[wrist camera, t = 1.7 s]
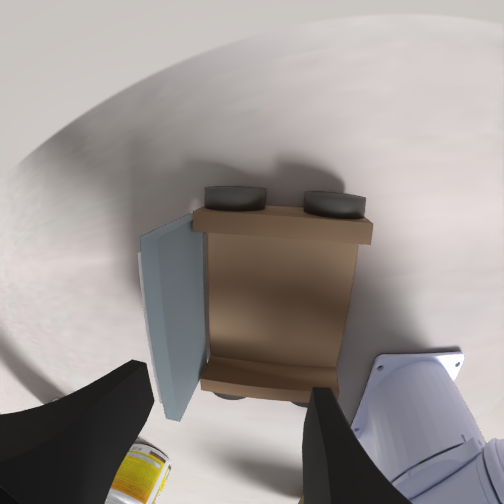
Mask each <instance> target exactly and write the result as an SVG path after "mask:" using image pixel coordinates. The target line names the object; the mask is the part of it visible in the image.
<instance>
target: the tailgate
mask: <svg viewBox="0 0 504 504" xmlns="http://www.w3.org/2000/svg"><path fill="white" fill-rule="evenodd" d="M140 247H141V251H140V252H139V253H138V265H139V276H140V286H141V295H142V303H143V311H144V318H145V325H146V332H147V338H148V345H149V350H150V356H151V362H152V367H153V372H154V377H155V382H156V387H157V392H158V396H159V401H160V403H163V407H164V411H165V415H166V418H167V419H170V420H175V421H179V422H180V420H181V418H182V416H183V414H184V412H185V410H186V408H187V405H188V403H189V401H190V399H191V397H192V395H193V393H194V390H195V388H196V386H197V384H198V382H199V380H200V377H201V375H202V373H203V371H204V369H205V367H206V365H207V356H206V336H205V313H204V279H203V233H202V232H193V214H188V215H186V216H183V217H181V218H179V219H177V220H175V221H172V222H170V223H168V224H166V225H164V226H161V227H159V228H157V229H155V230H153V231H151V232H149V233H147V234H145V235H142V236H140Z"/></svg>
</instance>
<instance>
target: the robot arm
mask: <svg viewBox="0 0 504 504" xmlns="http://www.w3.org/2000/svg"><path fill="white" fill-rule="evenodd" d="M464 358H465V355H464V353H463V352H461V351H460V352H446V353H427V354H383V355H379V356H378V357H377V358H376V359H375V361H374V365H373V368H372V371H371V374H370V377H369V380H368V383H367V386H366V389H365V392H364V394H363V397H362V400H361V403H360V405H359V408H358V411H357V413H356V416H355V418H354V421H353V423H352V426H351V427H350V425H349V424H348V422H347V420H346V418H345V416H344V414H343V412H342V410H341V408H340V406H339V404H338V402H337V399H336V397H335V395H334V392H333V390H332V389H331V388H328V387H312V392H311V396H310V401H309V405H308V409H307V413H306V418H305V422H304V429H303V443H302V459H303V488H304V504H504V439H496V438H495V439H492V440H490V441H489V442H488V443H486V441H485V439H484V437H483V435H482V433H481V431H480V429H479V427H478V425H477V423H476V421H475V419H474V417H473V415H472V413H471V412H470V410H469V408H468V406H467V404H466V402H465V401H464V399H463V397H462V395H461V393H460V392H459V390H458V388H457V386H456V385H455V383H454V380H455V378H456V376H457V374H458V372H459V369H460V367H461V365H462V363H463V360H464ZM457 362H458V363H457ZM381 365H382V367H380V368H378V367H379V366H381ZM153 404H154V397H153V392H152V388H151V383H150V379H149V374H148V369H147V364H146V363H144V362H140V361H136V360H131V361H129V362H127V363H125V364H123V365H122V366H120V367H118V368H117V369H115V370H113V371H112V372H110V373H108V374H107V375H105V376H103V377H101V378H100V379H98V380H96V381H94V382H93V383H91V384H89V385H87V386H85V387H83V388H81V389H79V390H77V391H75V392H73V393H71V394H69V395H67V396H65V397H63V398H61V399H58V400H56V401H53V402H50V403H48V404H45V405H42V406H39V407H35V408H31V409H28V410H24V411H20V412H15V413H9V414H1V415H0V504H105V501H106V498H107V496H108V493H109V490H110V488H111V485H112V483H113V480H114V478H115V476H116V473H117V471H118V469H119V467H120V465H121V463H122V462H123V460H124V458H125V457H126V455H127V453H128V452H129V450H130V448H131V447H132V445H133V443H134V442H135V440H136V438H137V437H138V435H139V433H140V431H141V430H142V428H143V426H144V425H145V423H146V421H147V418H148V416H149V414H150V411H151V409H152V406H153ZM358 439H359V440H358Z"/></svg>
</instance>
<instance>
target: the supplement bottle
mask: <svg viewBox="0 0 504 504" xmlns="http://www.w3.org/2000/svg"><path fill="white" fill-rule="evenodd" d="M170 470H171V462H170V460H169V459H168V458H167V457H166V456H165V455H164V454H163V453H161V452H160V451H158V450H156V449H155V448H152V447H150V446H147V445H144V444H133V445H132V447H131V448H130V450H129V452H128V453H127V455H126V457H125V458H124V460H123V462H122V463H121V465H120V467H119V469H118V471H117V473H116V476H115V478H114V480H113V483H112V485H111V488H110V490H109V493H108V496H107V498H106V499H107V500H106V502H105V504H156V503H157V500H158V498H159V496H160V493H161V491H162V489H163V486H164V484H165V482H166V480H167V477H168V475H169V472H170Z"/></svg>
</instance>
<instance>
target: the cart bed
mask: <svg viewBox="0 0 504 504" xmlns="http://www.w3.org/2000/svg"><path fill="white" fill-rule="evenodd" d="M365 202H366V198H365V197H361V196H357V195H351V194H343V193H334V192H321V191H306V192H305V197H304V207H291V206H276V205H265V203H266V189H264V188H257V187H242V186H215V187H206V188H205V206H204V207H202V208H199V209H197V210H195V211H193V232H202V233H208V293H209V328H210V352H211V356H210V358H209V360H208V363H207V365H206V367H205V369H204V371H203V373H202V376H201V378H200V383H201V390H204V391H210V392H213V393H214V394H215V395H217V396H218V397H221V398H223V399H228V400H239V399H243V398H246V397H250V398H259V399H268V400H279V401H291V402H292V403H293V404H295V405H298V406H301V407H306V408H308V405H309V401H310V396H311V392H312V387H328V388H331V389H332V390H333V392H334V395H335V397H336V399H337V398H338V395H339V387H338V380H337V373H336V364H337V360H338V356H339V351H340V347H341V342H342V338H343V333H344V328H345V323H346V318H347V313H348V308H349V302H350V296H351V291H352V285H353V278H354V272H355V265H356V258H357V251H358V244H367V245H371V238H372V230H373V223H372V222H370V221H369V220H368V219H366V218H365V217H364V213H365Z"/></svg>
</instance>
